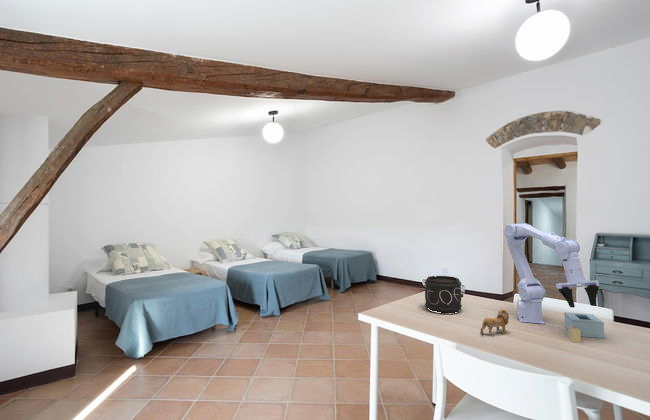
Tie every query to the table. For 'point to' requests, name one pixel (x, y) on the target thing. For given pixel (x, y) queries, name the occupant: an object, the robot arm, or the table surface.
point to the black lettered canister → (443, 294)
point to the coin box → (585, 324)
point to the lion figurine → (496, 322)
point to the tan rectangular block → (574, 334)
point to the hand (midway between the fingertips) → (583, 306)
